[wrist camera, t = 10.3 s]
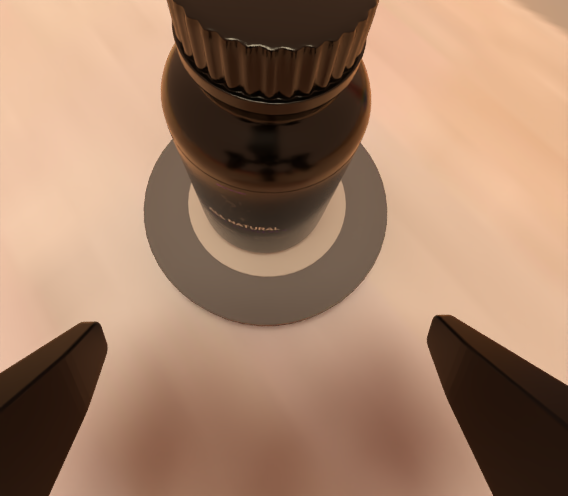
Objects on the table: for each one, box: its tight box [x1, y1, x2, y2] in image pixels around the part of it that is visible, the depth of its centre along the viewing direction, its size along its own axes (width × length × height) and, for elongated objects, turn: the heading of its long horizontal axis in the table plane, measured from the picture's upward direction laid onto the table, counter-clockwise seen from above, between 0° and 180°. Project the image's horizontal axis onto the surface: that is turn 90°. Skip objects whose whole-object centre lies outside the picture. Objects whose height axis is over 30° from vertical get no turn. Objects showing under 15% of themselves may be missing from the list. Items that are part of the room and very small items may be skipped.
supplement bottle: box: [161, 0, 379, 253], centre depth 12 cm, size 7×7×12 cm
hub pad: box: [144, 139, 387, 326], centre depth 19 cm, size 14×14×2 cm
